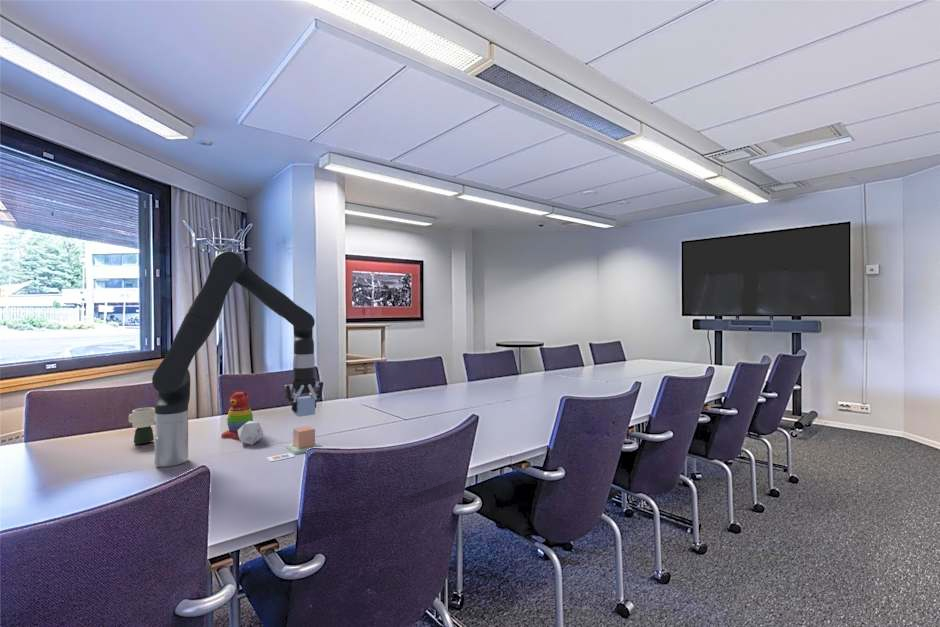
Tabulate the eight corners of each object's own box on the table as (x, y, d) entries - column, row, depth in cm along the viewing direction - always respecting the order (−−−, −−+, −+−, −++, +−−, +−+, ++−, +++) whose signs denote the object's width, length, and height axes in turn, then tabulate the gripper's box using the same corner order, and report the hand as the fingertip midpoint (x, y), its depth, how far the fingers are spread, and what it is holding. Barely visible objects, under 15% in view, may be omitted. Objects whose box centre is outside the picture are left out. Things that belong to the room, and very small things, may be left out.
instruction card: (270, 461, 151) (270, 461, 151) (266, 457, 155) (266, 457, 155) (294, 457, 156) (294, 456, 156) (290, 453, 160) (290, 452, 160)
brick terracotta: (298, 448, 162) (298, 432, 162) (293, 444, 166) (293, 428, 166) (315, 445, 166) (315, 429, 166) (309, 441, 170) (309, 425, 170)
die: (238, 449, 166) (255, 428, 166) (228, 434, 170) (244, 413, 171) (256, 451, 173) (272, 431, 173) (246, 436, 178) (262, 416, 178)
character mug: (164, 440, 175) (164, 407, 175) (152, 445, 168) (152, 411, 168) (135, 440, 174) (135, 407, 174) (122, 446, 167) (122, 411, 167)
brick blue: (298, 416, 162) (298, 400, 162) (293, 413, 166) (293, 397, 166) (315, 414, 165) (315, 398, 165) (309, 411, 170) (309, 395, 170)
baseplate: (294, 454, 159) (294, 450, 159) (286, 447, 167) (286, 444, 167) (322, 448, 165) (322, 445, 165) (312, 442, 173) (312, 439, 173)
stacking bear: (218, 437, 179) (218, 393, 179) (238, 430, 189) (238, 389, 188) (240, 440, 176) (240, 395, 176) (259, 433, 185) (259, 390, 185)
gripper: (287, 368, 158) (287, 415, 158) (326, 365, 167) (326, 410, 168) (280, 366, 164) (281, 411, 164) (319, 363, 173) (319, 406, 173)
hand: (304, 410), depth 166 cm, fingers closed on brick blue, 6 cm apart
